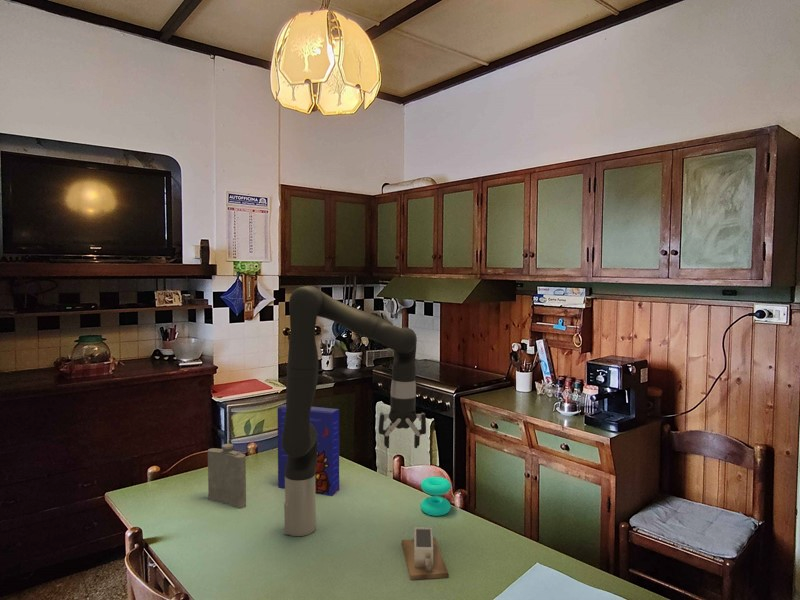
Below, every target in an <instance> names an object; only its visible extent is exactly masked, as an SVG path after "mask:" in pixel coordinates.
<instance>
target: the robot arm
mask: <svg viewBox="0 0 800 600" xmlns="http://www.w3.org/2000/svg"><path fill="white" fill-rule="evenodd" d="M288 304H289V305H288V307H289V324H290V325H289V327H290V329H289V330H290V331H289V332H290V335H289V343H288V354H287V366H286V367H287V368H286V392H285V393H286V395H285V400H286V401H285V404H286V416H285V423H284V429H283V435H282V447H283V449H284V451H285V453H286V454H287V455H288V459H287V463H286V466H285V489H284V503H283V504H284V506H283V507H284V509H283V515H284V516H283V517H284V523H283V525H284V529H283V530H284V535H285V536H287V535H289V536H292V537H304V536H309V535H310V534H312V533H313V532H315V531H316V527H317V526H316V524H317V523H316V522H317V520H316V519H317V517H316V516H317V515H316V514H317V513H316V505H317V504H316V494H315V469H316V463H317V432H316V429H315V427H314V426H313V425H312V424H311V423H310V410H311V407H313V406H312V405H313V401H314V398H315V395H316V391H317V385H318V381H319V380H318V379H319V353H318V348H317V342H316V324H317V317H318V318H323V319H326V320H327V319H328V320H329V321H333V322H335V323H337V324H338V325H341V326H343V327H344V328H346V329H348V330H350V331H351V332H353V333H355V334H358V336H361V337H364V338H367V339H368V340H372V341H375V342H377V343H380V344H381V345H383V346H385V347H386V348H388V349H390V350H392V351H393V363H392V368H391V370H392V371H391V385H390V391H389V393H390V410H389V413H384V412H382V411H381V412H380V413H379V420H378V429H377V430H378V434H379V435H383V439H384V440H383V444H384V447H386V449H390V434H391V433H392V432H393V431H394V430H395V429H404V430H405V429H409V428H410V429H411V430H412V431H413V433H414V437H413V438H414V440H413V443H414V444H413V446H414V449H418V447H419V446H420V442H421V439H420V438H421V436H422V435H426V434H427V419H426V413H425V412H421V413H416V397H417V395H416V394H417V384H416V368H417V367H416V355H417V341H418V338H417V334H416V331H414V330H413V329H412V328H410V327H406V326H405V327H404V326H403V327H400V326H397V325H394V324H392V323H390V322H388V321H387V320H385V319H384V318H381V317H379V316H377V315H374V314H373V313H372V314H371V313H368V312H367V311H364V310H360V309H358V308H356V307H353V306H350V305H347V304H346V303H343V302H341V301H339V300H338V299H335V298H333V297H331V296H330V295H328V294H326V293H325V292H323V291H322V290H320V289H319V288H317V287H315V286H313V285H305V286H301V287H300V286H299V287H297V288H295V290H293V292H292V293H291V295H290V297H289V301H288ZM387 419H389V421H390V423H389V424H388V426H387V427H386V429H384V425H385V424H384V423H385V422H386V421H387ZM416 419H418V421H419V422H420V429H419V428H417V426H416V425H415V421H416Z"/></svg>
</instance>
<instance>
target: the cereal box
mask: <svg viewBox="0 0 800 600" xmlns="http://www.w3.org/2000/svg"><path fill="white" fill-rule="evenodd" d="M276 410H277V488H278V489H284V490H285V466H286V463H287V459H288V455H287V454H286V453H285V451H284V449H283V447H282V435H283V429H284V423H285V416H286V403H285V404H282V405H280V406H279V407H277V409H276ZM310 423H311V424H312V425H313V426H314V427H315V429H316V432H317V463H316V469H315V495H322V496H327V497H328V496H329V497H333V496H334V495H335V494H336V493H338V492H339V490H340V409H339V408H330V407H329V408H328V407H321V406H320V407H318V406H311V410H310Z"/></svg>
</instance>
